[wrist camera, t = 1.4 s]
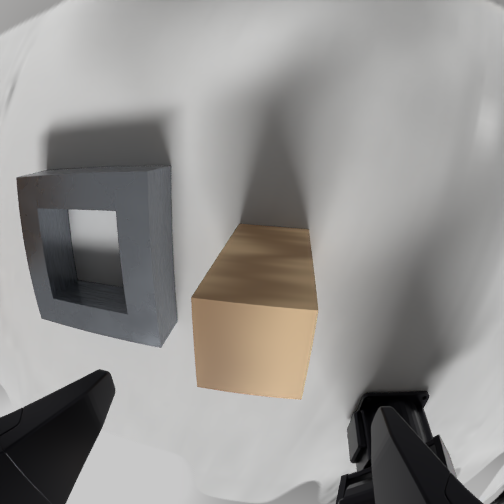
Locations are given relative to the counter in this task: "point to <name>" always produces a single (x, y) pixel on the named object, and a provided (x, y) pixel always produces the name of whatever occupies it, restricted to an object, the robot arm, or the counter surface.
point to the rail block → (130, 247)
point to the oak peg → (257, 314)
